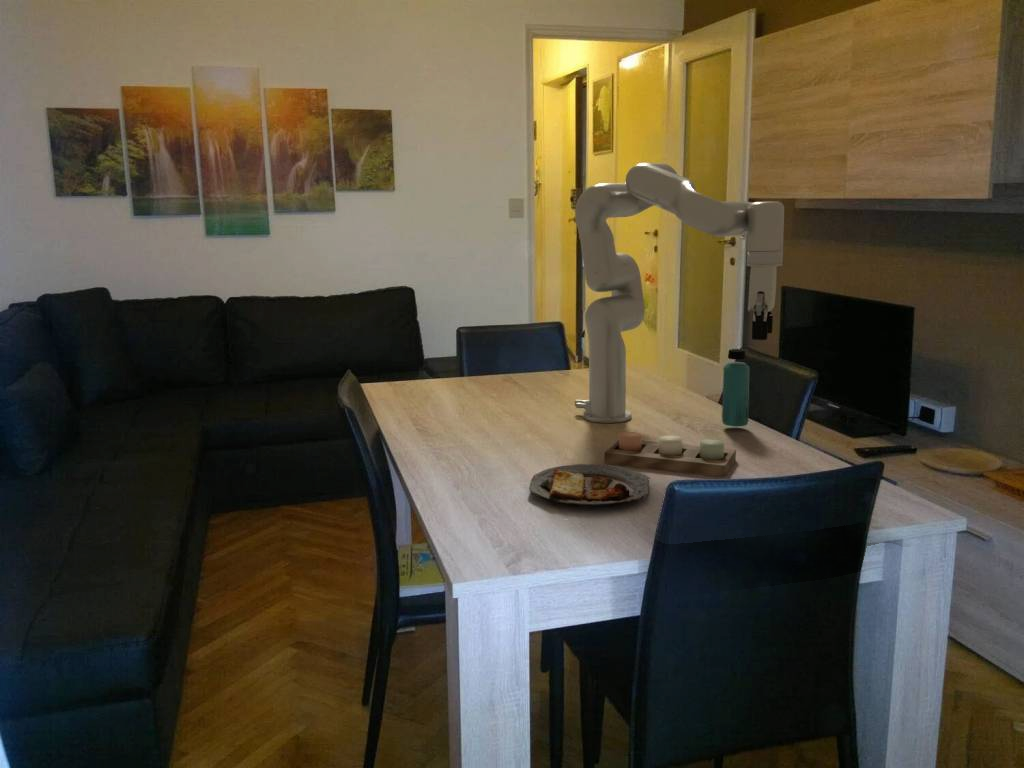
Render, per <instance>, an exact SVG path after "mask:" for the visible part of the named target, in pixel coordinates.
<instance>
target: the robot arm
mask: <svg viewBox="0 0 1024 768" xmlns="http://www.w3.org/2000/svg"><path fill="white" fill-rule="evenodd" d="M653 206H655V207H658V208H660V209H662V210H664V211H666V212H669V213H671V214H674V215H675V217H676V218H677V219H679V220H680V221H681V222H683V223H684V225H687V226H688V227H691V228H693V229H696V230H698V231H700V232H702V233H705V234H707V235H710V236H714V237H718V238H719V237H731V236H733V237H734V236H743V235H747V238H746V239H747V241H746V242H747V244H746V266H747V267H750V272H749V287H748V304H747V311H748V312H752V311H753V316H752V327H751V339H752V340H755V341H756V340H757V341H758V340H759V341H766V340H767V339H768V334H772V333H773V324H774V323H773V322H774V321H773V309H774V307H775V304H776V302H775V301H776V294H777V293H776V291H777V275H778V273H777V271H778V270H777V268H778V267H782V266H783V261H784V260H783V259H784V257H783V256H784V254H783V253H784V250H783V249H784V229H785V228H784V227H785V224H784V223H785V206H784V204H783V202H780V201H777V200H776V201H770V200H769V201H755V202H750V201H746V200H745V201H741V200H737V201H735V200H734V201H729V200H727V201H726V200H725V201H720V200H718V199H715V198H714V199H713V198H712V197H709V196H706V195H705V194H702V193H700V192H698V191H696V185H695V182H694V181H693V180H691V179H690V178H687V177H685V176H682V175H679V174H678V173H677V171H676V170H675V168H674V167H672V166H671V165H669V164H667V163H663V162H662V163H661V162H641V163H636V164H635V165H633V166H632V167H631V168H630V169H629V170H628V172H627V173H626V176H625V180H624V182H622V183H621V182H618V183H617V182H602V183H597V184H593V185H590V186H588V187H587V188H585V190H584V191H583V192H582V193H581V194H580V196H579V197H578V199H577V202H576V205H575V210H574V213H575V214H574V215H575V223H576V228H577V230H578V231H577V232H578V235H579V240H580V248H581V256H582V262H583V263H582V265H583V270H584V276H585V282H586V285H587V287H588V288H589V289H590V290H591V291H593V292H596V293H607V292H611V295H610V296H605V297H604V296H603V297H601V298H598V299H595V300H594V301H592V302H591V303H590V304H589V305H588V307H586V308H587V309H586V311H585V313H584V315H585V317H584V319H585V320H584V321H585V327H586V333H587V339H588V367H589V368H588V369H589V370H588V372H589V373H588V377H589V378H588V382H589V383H588V384H589V385H588V387H589V388H588V389H589V390H588V392H589V393H588V394H589V395H588V399H587V398H586V400H583V399H579V398H578V399H577V398H576V399H575V401H574V406H575V408H576V409H584V411H583V413H582V415H583V418H584V419H585V420H587V421H589V422H593V423H600V424H601V423H603V424H604V423H605V424H607V423H609V424H612V423H613V424H614V423H622V422H627V421H629V420H630V419H632V412H631V410H627V409H626V406H627V405H626V400H627V398H626V395H627V394H626V393H627V392H626V390H627V389H626V387H627V386H626V385H627V383H626V381H627V378H626V377H627V351H626V350H627V349H626V345H625V341H624V338H623V336H622V333H623V332H627V331H632V330H634V329H637V328H639V326H640V325H641V324H642V323H643V321H644V319H645V313H646V312H645V311H646V310H645V309H646V308H645V301H644V300H645V299H644V292H643V283H642V277H641V271H640V267H639V266H638V263H637V262H636V260H635V259H634V258H633V257H632V256H631V255H629V254H627V253H623V252H617V251H616V246H615V239H614V233H613V232H612V229H611V227H610V225H609V224H608V222H607V219H610V218H628V217H629V218H630V217H633V216H636V215H638V214H640V213H642V212H644V211H645V210H648V209H649V208H652V207H653Z"/></svg>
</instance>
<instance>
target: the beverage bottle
mask: <svg viewBox="0 0 1024 768" xmlns="http://www.w3.org/2000/svg"><path fill="white" fill-rule="evenodd" d="M727 358H728V359H729V360H745V359H746V350H745V349H741V348H731V349H729V350H728V355H727ZM722 369H723V373H722V375H723V378H722V379H723V380H722V381H723V382H722V383H723V384H722V399H721V401H722V408H721V421H722V424H723V425H725V426H729V427H745V426H747V425H748V424H749V421H750V420H749V417H750V414H749V411H750V409H749V408H750V406H749V405H750V371H751V370H750V366H749V365H748V364H747V363H745V362H742V361H741V362H740V361H730V362H728V363H726V364H725V365H724V366H723V368H722Z"/></svg>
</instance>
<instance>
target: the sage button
mask: <svg viewBox="0 0 1024 768" xmlns="http://www.w3.org/2000/svg"><path fill="white" fill-rule="evenodd" d="M699 446H700V458H701V459H710V460H720V461H723V460H724V449H725V442H724V441H722V440H719V439H703V440H700V442H699Z"/></svg>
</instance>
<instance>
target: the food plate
mask: <svg viewBox="0 0 1024 768" xmlns="http://www.w3.org/2000/svg"><path fill="white" fill-rule="evenodd" d="M585 478H591V481H590V483H591V486H592V487H591V488H590V492H588V490H589V489H588V490H587V486H586V479H585ZM613 480H614V481H616V482H617V481H618V483H615V484H614V487H608V486H609V485H610V484H611V482H613ZM619 482H620V483H619ZM624 484H625V485H624ZM627 486H628V487H627ZM628 488H629V489H628ZM528 489H529V492H530V493H531V494H533V496H537V497H539V498H541V499H543V500H546V501H549V502H555V503H557V504H568V505H569V504H570V505H583V506H584V505H585V506H590V507H593V506H597V507H598V506H608V505H609V506H610V505H615V504H628V503H632V502H636V501H640V500H641V497H642V498H645V497H647V495H648V494H649V491H650V477H649V476H648V475H646V474H644V473H641V472H639V471H635V470H632V469H630V468H626V467H622V466H618V465H612V464H601V463H589V464H588V463H587V464H585V463H584V464H583V463H576V464H570V465H567V464H566V465H560V466H553V467H550V468H546V469H543V470H542V471H540V472H538V473H535V474H534V475H533V476H532V478H531V480H530V483H529V486H528ZM630 489H631V491H630Z"/></svg>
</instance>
